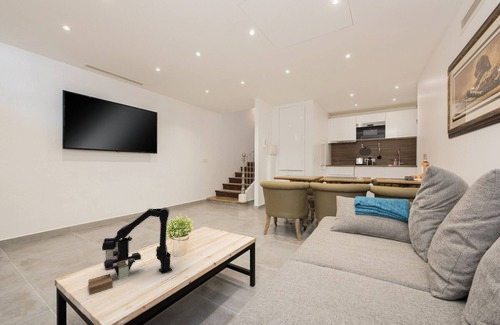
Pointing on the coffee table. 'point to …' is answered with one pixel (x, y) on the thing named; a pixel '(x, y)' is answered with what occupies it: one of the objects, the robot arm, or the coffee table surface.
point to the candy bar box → (110, 256)
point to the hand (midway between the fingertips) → (122, 274)
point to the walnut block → (100, 284)
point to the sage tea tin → (123, 271)
